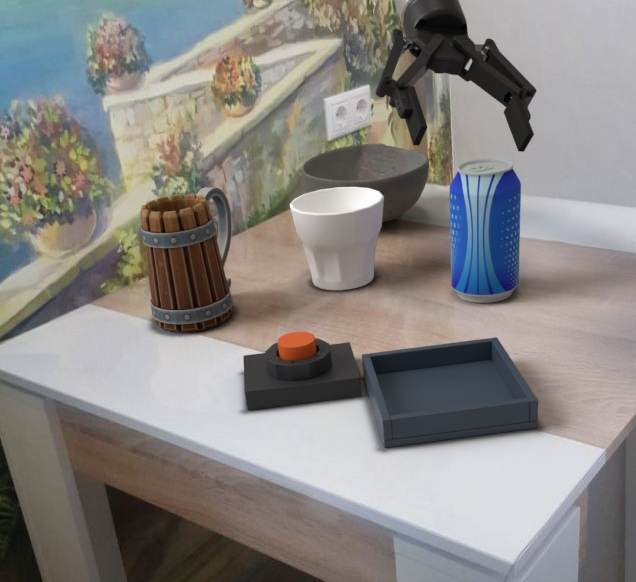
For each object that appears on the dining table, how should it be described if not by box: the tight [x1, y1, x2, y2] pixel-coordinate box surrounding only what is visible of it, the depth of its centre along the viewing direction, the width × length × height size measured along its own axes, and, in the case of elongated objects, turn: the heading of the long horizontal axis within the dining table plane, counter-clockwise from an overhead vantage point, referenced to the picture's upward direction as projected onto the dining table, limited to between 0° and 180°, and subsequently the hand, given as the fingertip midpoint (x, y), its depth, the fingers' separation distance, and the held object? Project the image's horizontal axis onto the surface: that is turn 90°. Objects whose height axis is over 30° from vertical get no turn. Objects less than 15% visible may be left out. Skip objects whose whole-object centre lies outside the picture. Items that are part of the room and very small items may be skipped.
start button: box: [277, 330, 317, 361], centre depth 93 cm, size 4×4×2 cm
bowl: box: [300, 143, 430, 224], centre depth 140 cm, size 20×20×10 cm
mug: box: [139, 186, 234, 333], centre depth 113 cm, size 16×11×15 cm
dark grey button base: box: [243, 337, 363, 411], centre depth 94 cm, size 12×9×4 cm
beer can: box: [449, 158, 522, 304], centre depth 108 cm, size 8×8×16 cm
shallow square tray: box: [361, 336, 539, 448], centre depth 88 cm, size 15×15×3 cm
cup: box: [289, 187, 384, 292], centre depth 119 cm, size 12×12×11 cm
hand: (474, 140), depth 102 cm, fingers open, 13 cm apart
